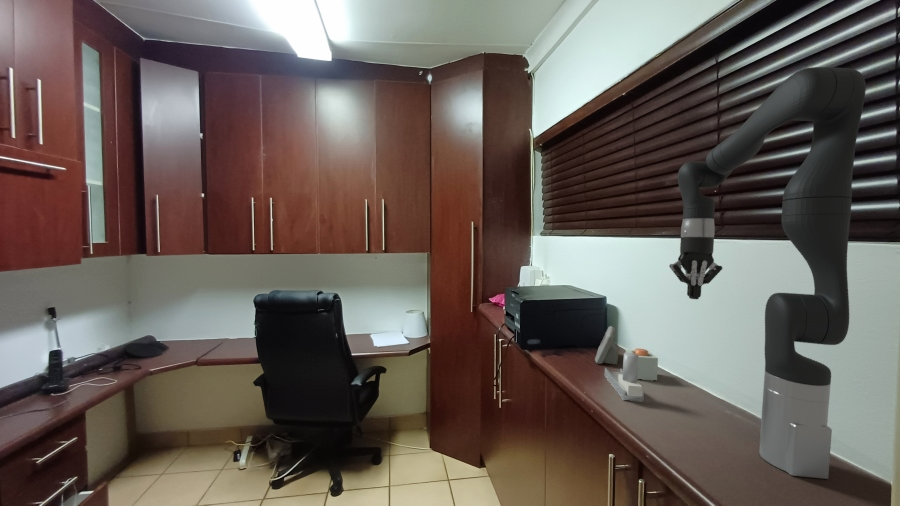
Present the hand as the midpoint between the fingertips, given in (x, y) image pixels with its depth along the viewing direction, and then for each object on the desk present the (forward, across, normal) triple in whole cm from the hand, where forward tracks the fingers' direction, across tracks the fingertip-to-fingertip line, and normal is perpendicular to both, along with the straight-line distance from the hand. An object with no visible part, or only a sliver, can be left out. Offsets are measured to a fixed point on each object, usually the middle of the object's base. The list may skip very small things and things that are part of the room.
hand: (693, 298), depth 100 cm
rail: (+27, +17, -2) cm, 32 cm away
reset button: (+22, +8, -12) cm, 26 cm away
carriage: (+25, +17, +4) cm, 31 cm away
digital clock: (+27, +15, -27) cm, 41 cm away
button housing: (+27, +8, -12) cm, 31 cm away
